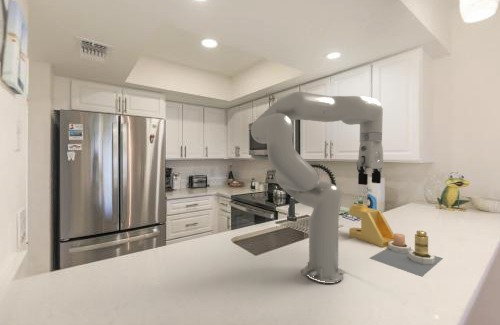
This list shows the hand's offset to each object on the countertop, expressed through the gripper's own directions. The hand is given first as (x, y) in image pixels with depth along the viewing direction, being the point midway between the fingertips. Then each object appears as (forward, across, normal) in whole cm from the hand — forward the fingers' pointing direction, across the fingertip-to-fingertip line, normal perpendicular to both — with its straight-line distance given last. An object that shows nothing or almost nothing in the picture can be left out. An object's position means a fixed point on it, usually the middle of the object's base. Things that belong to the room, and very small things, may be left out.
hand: (369, 183), depth 88 cm
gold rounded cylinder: (+28, +15, -12) cm, 34 cm away
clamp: (+30, +22, +10) cm, 38 cm away
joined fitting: (+28, +18, -3) cm, 34 cm away
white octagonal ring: (+28, +15, -12) cm, 34 cm away
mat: (+29, +12, -8) cm, 33 cm away
